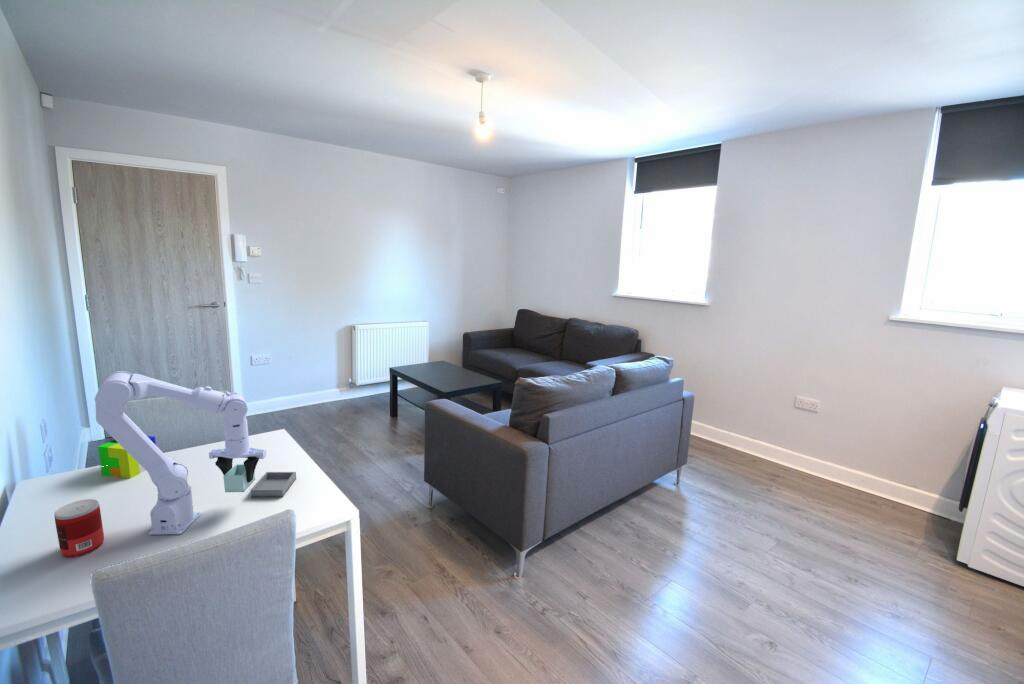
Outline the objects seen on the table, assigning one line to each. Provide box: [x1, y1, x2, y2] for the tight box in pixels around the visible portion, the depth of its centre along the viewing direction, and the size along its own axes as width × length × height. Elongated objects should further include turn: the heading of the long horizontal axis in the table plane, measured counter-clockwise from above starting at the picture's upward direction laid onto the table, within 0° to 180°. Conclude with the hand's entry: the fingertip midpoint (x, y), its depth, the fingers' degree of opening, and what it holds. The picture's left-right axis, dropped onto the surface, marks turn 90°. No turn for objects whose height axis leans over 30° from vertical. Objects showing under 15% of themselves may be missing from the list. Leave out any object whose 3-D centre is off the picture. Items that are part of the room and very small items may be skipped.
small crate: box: [223, 463, 256, 493], centre depth 129 cm, size 5×7×5 cm
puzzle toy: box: [97, 435, 157, 479], centre depth 147 cm, size 10×10×10 cm
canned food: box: [54, 498, 105, 558], centre depth 110 cm, size 8×8×11 cm
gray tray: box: [250, 471, 297, 498], centre depth 141 cm, size 9×11×2 cm
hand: (240, 480), depth 129 cm, fingers closed on small crate, 5 cm apart
